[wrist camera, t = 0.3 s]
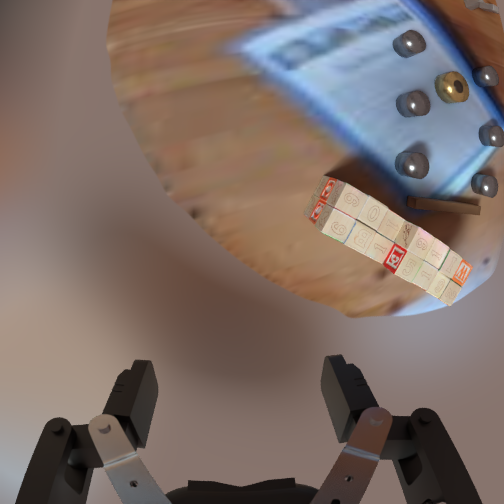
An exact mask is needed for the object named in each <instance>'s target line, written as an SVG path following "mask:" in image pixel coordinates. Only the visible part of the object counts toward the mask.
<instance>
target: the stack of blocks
mask: <svg viewBox="0 0 504 504" xmlns="http://www.w3.org/2000/svg"><path fill="white" fill-rule="evenodd" d="M304 215H305V216H306V217H307V218H309V220H310V221H311V222H312V223H313V224H314V225H315V227H316V228H317V229H318V230H319V231H320V232H322V233H323V234H325V235H327V236H329V237H331V238H333V239H335V240H337V241H339V242H342V243H343V244H345V245H346V246H348V247H350V248H352V249H354V250H356V251H358V252H360V253H362V254H364V255H365V256H367V257H369V258H371V259H373V260H375V261H377V262H379V263H381V264H383V265H384V266H385V267H386V268H387V269H389V270H390V271H391V272H392V273H393V274H395V275H397V276H399V277H401V278H403V279H404V280H406V281H408V282H410V283H411V282H412V283H413V284H415V285H417V286H419V287H421V288H422V289H423V290H424V291H426V292H427V293H429V294H431V295H433V296H434V297H436V298H438V299H439V300H441V301H442V302H444V303H446V304H447V305H449V306H451V305H452V303H453V302H454V300H455V298H456V297H457V295H458V293H459V292H460V290H461V288H462V287H461V286H463V285H464V283H465V281H466V279H467V277H468V276H469V274H470V272H471V270H472V268H473V266H472V265H470V264H469V263H468V262H466V261H465V260H464V259H463V258H462V257H461V256H459V255H458V254H457V253H455V252H454V251H452V250H451V249H449V247H448V246H447V245H445V244H444V243H443V242H441V241H440V240H438V239H437V238H435V237H434V236H432V235H431V234H429V233H428V232H426V231H425V230H423V229H422V228H420V227H419V226H416V225H414V224H412V223H410V222H408V221H406V220H405V219H403V218H402V217H400V216H399V215H397V214H396V213H394V212H393V211H391V210H390V209H388V207H387V206H385V205H384V204H382V203H381V202H379V201H378V200H376V199H375V198H373V197H371V196H370V195H368V194H365V193H363V192H361V191H360V190H358V189H356V188H355V187H353V186H351V185H350V184H348V183H345V182H342V181H340V180H338V179H335V178H332V177H328V176H323V177H322V179H321V181H320V183H319V185H318V187H317V189H316V191H315V193H314V195H313V196H312V198H311V200H310V202H309V204H308V206H307V208H306V210H305V212H304Z"/></svg>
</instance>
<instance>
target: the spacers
mask: <svg viewBox="0 0 504 504" xmlns="http://www.w3.org/2000/svg"><path fill="white" fill-rule="evenodd" d="M393 47H394V50H395V51H396V53H397V54H399V55H400V56H401V57H404V58H408V57H411V56H413V55H415V54H417V53H420V52H422V51H424V50H425V48H426V43H425V40H424V38H423V37H422V36H421V35H420V34H419V33H418V32H416V31H414V30H409V31H407V32H405V33H404V34H402V35H400V36H399V37H397V38H395V39H394V40H393ZM472 77H473V80H474V82H475V83H476V84H477V85H478V86H479V87H487V86H495V85H498V83H499V78H498V74H497V72H496V70H495V69H494V68H493V67H492V66H485V67H481V68H476V69H473V71H472ZM396 107H397V109H398V111H399V113H400V114H401V115H402V116H404V117H415V116H423V115H426V114H428V113H429V111H430V101H429V99H428V97H427V96H426V94H424V93H423V92H421V91H414V92H410V93H406V94H403V95H400V96H399V97H398V98H397V100H396ZM479 139H480V141H481V143H482V144H483V145H485V146H496V147H502V146H503V145H504V131H503V129H502V128H501V127H500V126H481V127H480V129H479ZM395 167H396V170H397V172H398V173H399V174H400V175H402V176H407V177H412V178H417V179H422V178H424V177H425V176H426V175H427V174H428V171H429V162H428V159H427V158H426V156H425V155H423V154H422V153H412V152H402V153H400V154H398V156H397V157H396V160H395ZM471 187H472V190H473V191H474V192H475V193H477V194H480V195H484V196H487V197H491V198H493V197H495V196H496V194H497V191H498V182H497V179H496V178H495V177H493V176H489V175H483V174H478V173H477V174H475V175H474V176H473V177H472V181H471Z"/></svg>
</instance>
